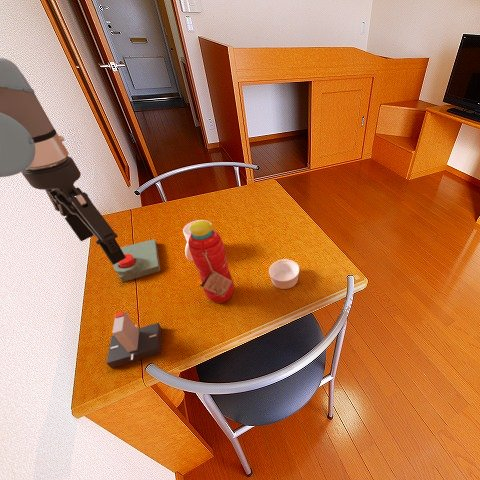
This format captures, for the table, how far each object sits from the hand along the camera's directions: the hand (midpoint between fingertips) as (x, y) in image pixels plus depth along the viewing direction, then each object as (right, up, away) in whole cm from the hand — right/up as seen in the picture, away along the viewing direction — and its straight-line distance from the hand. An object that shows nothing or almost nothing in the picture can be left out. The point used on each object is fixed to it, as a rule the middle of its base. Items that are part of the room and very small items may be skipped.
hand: (102, 248), depth 63 cm
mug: (+12, -3, +26) cm, 29 cm away
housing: (-6, -5, +23) cm, 25 cm away
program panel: (+7, -23, +2) cm, 24 cm away
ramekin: (+39, -10, +20) cm, 45 cm away
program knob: (+7, -21, 0) cm, 23 cm away
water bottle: (+23, -15, +14) cm, 30 cm away
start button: (-6, -5, +18) cm, 19 cm away
